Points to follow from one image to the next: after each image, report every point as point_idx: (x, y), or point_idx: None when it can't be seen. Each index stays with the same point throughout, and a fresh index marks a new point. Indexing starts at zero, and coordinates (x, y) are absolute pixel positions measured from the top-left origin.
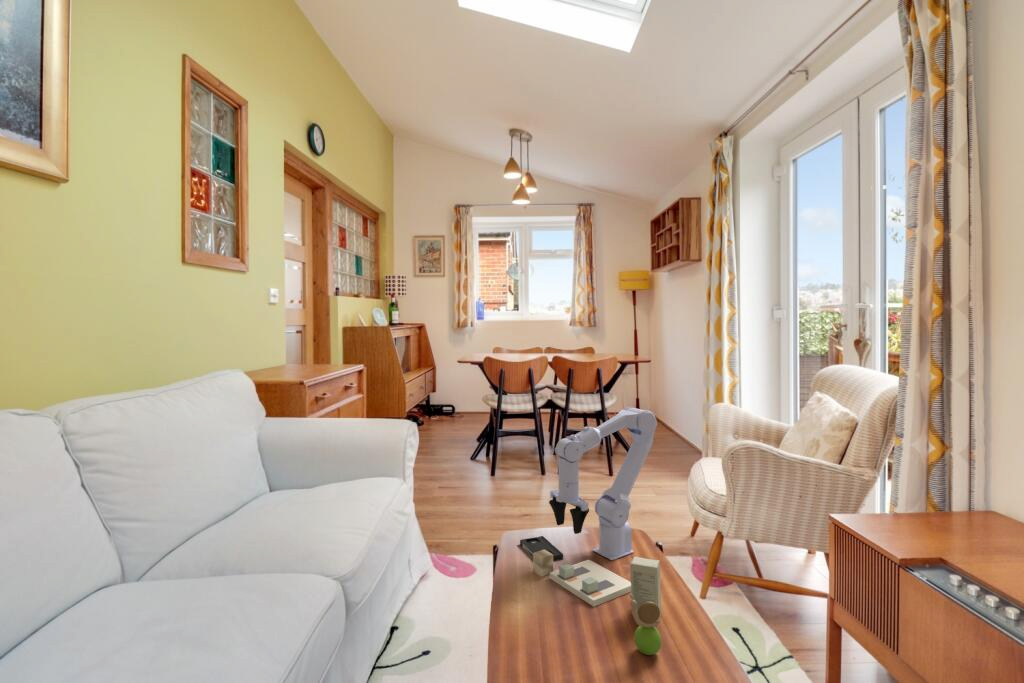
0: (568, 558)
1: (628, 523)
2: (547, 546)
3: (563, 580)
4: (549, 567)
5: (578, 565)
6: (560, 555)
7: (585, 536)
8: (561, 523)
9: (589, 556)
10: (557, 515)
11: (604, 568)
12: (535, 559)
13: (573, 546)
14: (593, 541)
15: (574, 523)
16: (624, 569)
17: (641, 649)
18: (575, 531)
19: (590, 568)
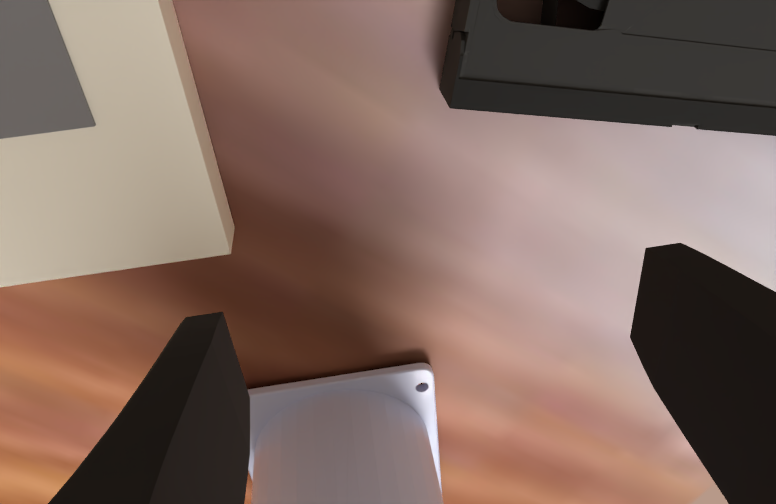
0: (427, 141)
1: None
2: (696, 61)
3: None
4: None
5: (140, 105)
6: (454, 73)
7: (644, 416)
8: (644, 314)
9: (368, 302)
10: (769, 362)
11: (8, 280)
12: None
13: (582, 285)
14: (551, 423)
15: (110, 459)
16: (68, 397)
17: None
18: (169, 343)
19: (37, 175)
